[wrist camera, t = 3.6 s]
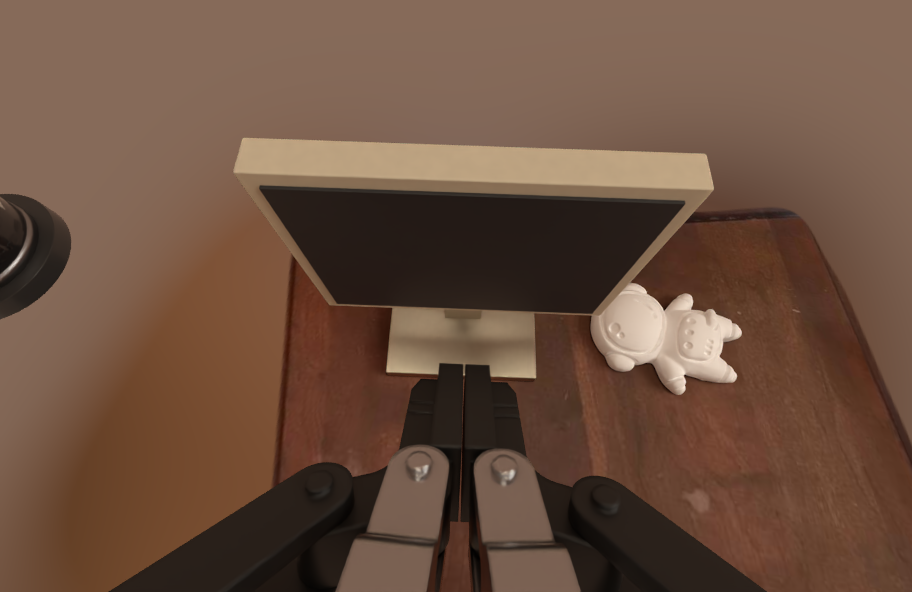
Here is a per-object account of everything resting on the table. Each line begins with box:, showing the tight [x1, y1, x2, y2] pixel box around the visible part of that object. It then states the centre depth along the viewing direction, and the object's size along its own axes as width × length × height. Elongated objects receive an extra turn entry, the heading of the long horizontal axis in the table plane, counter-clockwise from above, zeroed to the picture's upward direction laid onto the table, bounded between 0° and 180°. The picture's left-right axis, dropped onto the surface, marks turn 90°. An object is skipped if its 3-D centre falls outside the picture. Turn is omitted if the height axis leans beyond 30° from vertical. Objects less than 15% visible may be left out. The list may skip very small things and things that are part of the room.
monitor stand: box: [386, 308, 536, 382], centre depth 32 cm, size 9×12×12 cm
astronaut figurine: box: [590, 283, 742, 395], centre depth 36 cm, size 9×12×3 cm
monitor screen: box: [233, 138, 714, 316], centre depth 22 cm, size 2×17×13 cm, turn 88°
